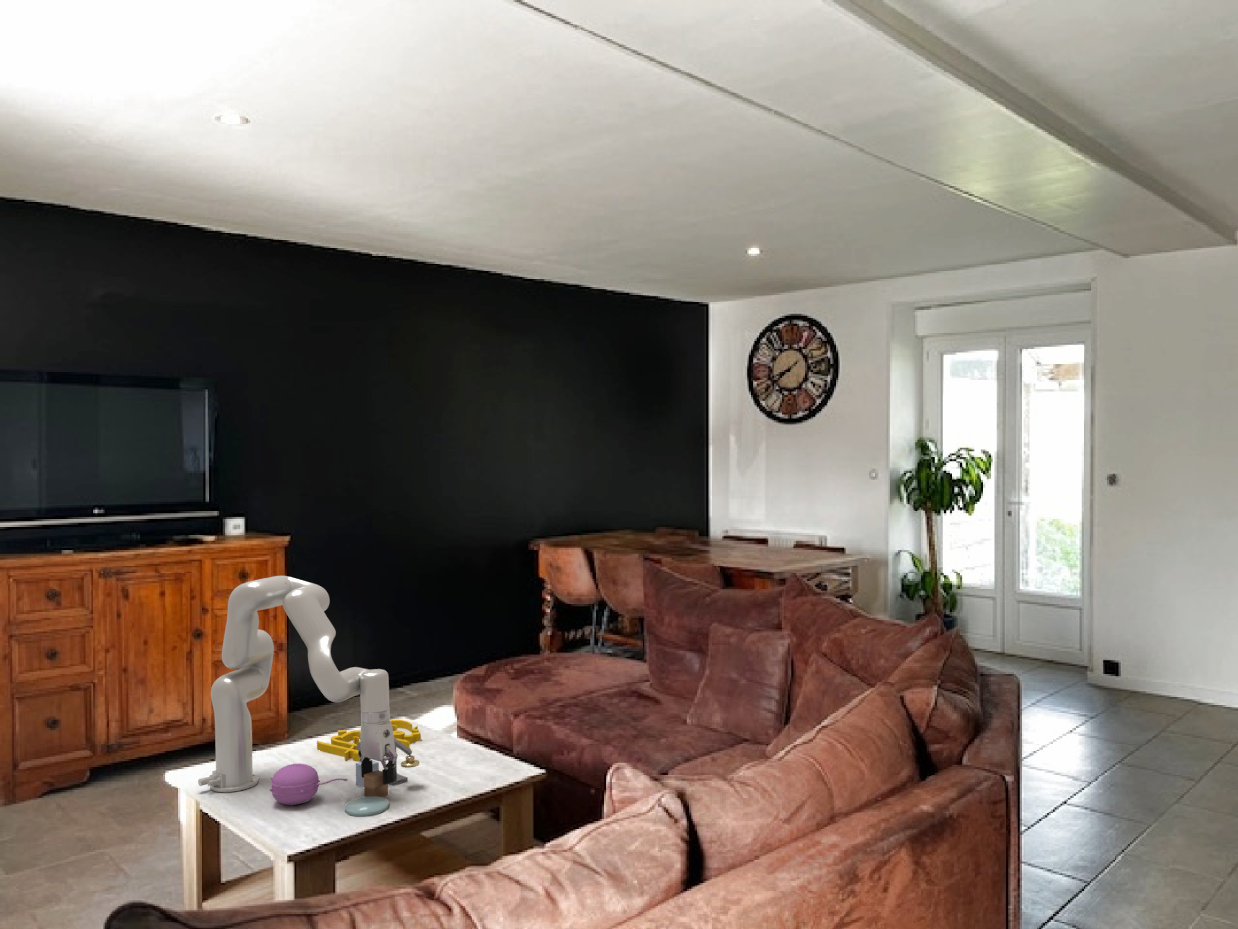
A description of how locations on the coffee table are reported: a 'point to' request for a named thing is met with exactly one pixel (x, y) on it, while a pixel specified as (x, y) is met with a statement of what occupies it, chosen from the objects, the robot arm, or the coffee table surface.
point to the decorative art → (349, 750)
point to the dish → (366, 806)
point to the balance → (403, 763)
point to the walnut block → (375, 784)
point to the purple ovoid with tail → (296, 784)
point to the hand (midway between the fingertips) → (377, 779)
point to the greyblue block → (359, 776)
